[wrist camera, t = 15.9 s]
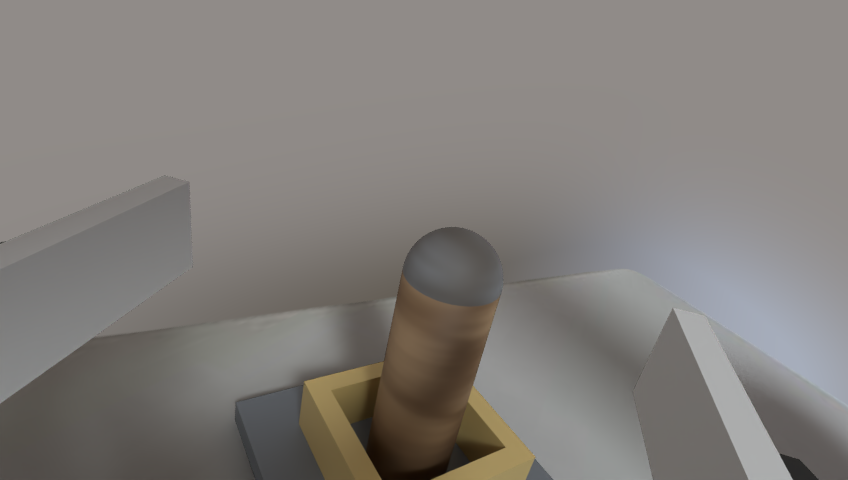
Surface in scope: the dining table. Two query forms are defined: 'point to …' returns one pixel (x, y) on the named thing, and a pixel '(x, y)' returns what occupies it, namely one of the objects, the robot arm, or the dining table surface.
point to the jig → (364, 434)
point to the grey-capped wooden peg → (433, 352)
